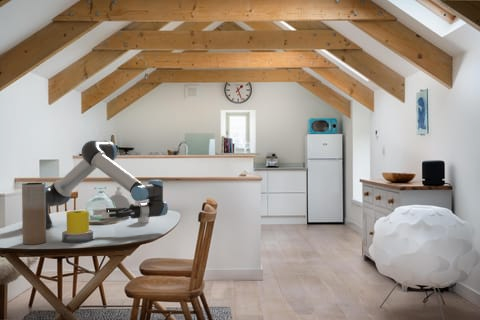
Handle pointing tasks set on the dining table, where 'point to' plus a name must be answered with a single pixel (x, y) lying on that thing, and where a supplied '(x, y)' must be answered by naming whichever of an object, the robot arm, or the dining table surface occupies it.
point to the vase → (33, 213)
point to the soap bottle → (120, 200)
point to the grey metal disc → (77, 237)
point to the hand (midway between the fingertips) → (97, 214)
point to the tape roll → (77, 222)
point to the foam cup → (145, 217)
